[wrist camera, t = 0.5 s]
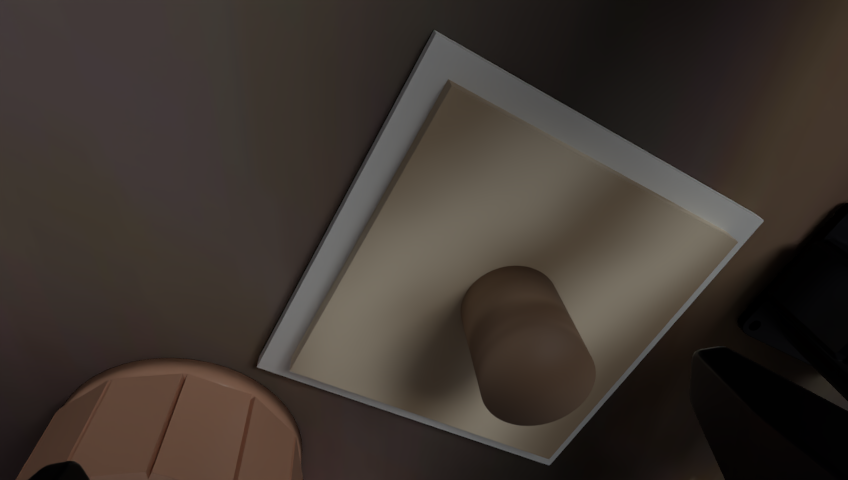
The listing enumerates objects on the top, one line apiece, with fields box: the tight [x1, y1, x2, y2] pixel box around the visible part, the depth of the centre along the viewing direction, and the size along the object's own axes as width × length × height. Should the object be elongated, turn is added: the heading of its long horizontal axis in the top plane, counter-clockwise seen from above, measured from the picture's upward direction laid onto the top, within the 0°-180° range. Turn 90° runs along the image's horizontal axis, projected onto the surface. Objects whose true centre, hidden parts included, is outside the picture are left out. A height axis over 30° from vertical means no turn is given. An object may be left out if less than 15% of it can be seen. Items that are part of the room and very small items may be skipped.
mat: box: [257, 30, 764, 465], centre depth 23 cm, size 14×14×1 cm
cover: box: [290, 79, 738, 459], centre depth 21 cm, size 12×12×5 cm
